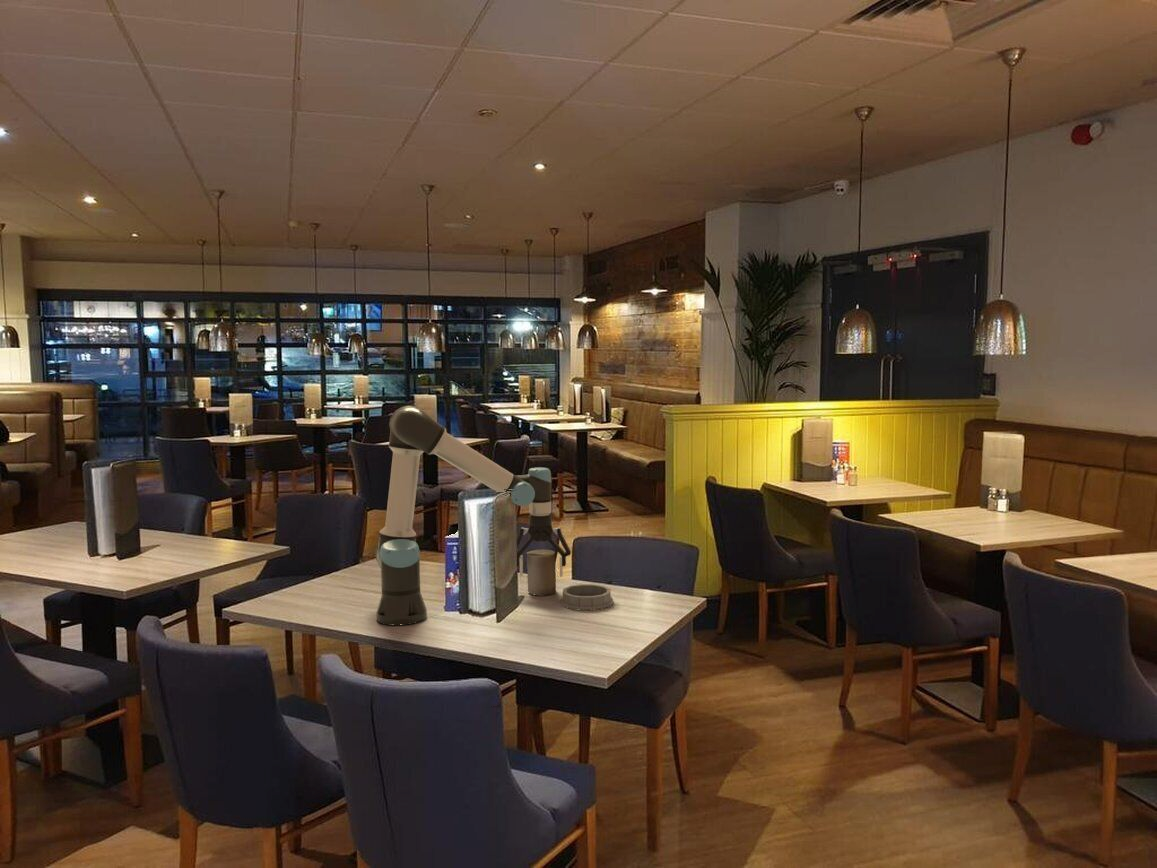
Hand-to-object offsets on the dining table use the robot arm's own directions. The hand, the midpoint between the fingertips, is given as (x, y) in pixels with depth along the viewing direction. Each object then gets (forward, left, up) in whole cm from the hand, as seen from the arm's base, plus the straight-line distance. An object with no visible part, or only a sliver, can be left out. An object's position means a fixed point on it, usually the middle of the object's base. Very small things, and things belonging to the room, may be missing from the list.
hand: (541, 575), depth 286 cm
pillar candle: (0, 0, -6) cm, 6 cm away
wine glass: (+15, +30, -6) cm, 34 cm away
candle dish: (-12, -16, -6) cm, 21 cm away
